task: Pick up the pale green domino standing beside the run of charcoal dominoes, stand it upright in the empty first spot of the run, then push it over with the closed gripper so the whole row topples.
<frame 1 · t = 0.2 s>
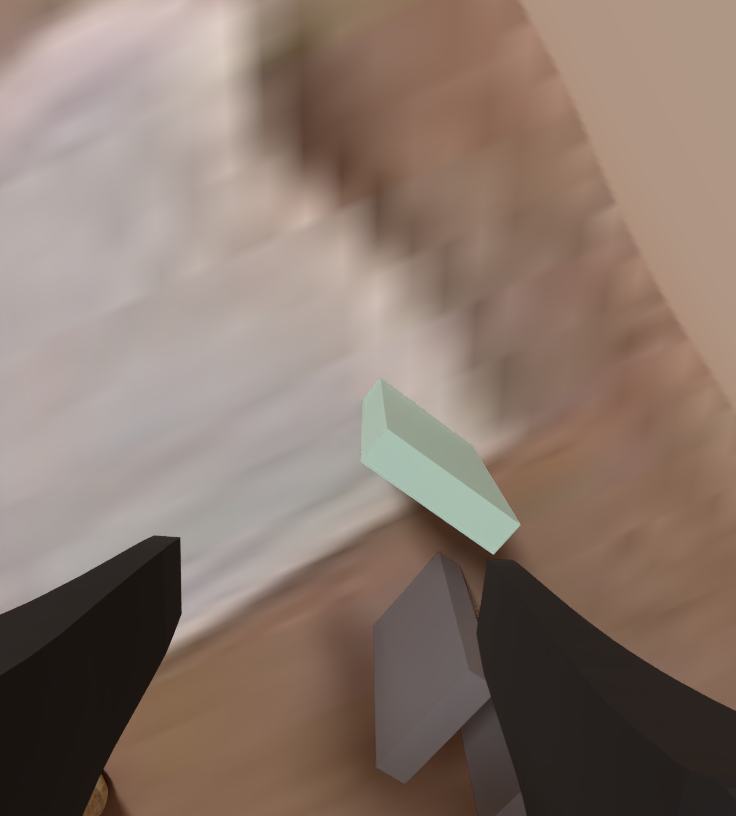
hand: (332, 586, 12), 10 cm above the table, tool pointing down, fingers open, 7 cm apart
sprinkles bottle: (69, 779, 26), on the table
green domino: (417, 422, 21), on the table
domino 2: (415, 596, 23), on the table
domino 3: (491, 646, 24), on the table
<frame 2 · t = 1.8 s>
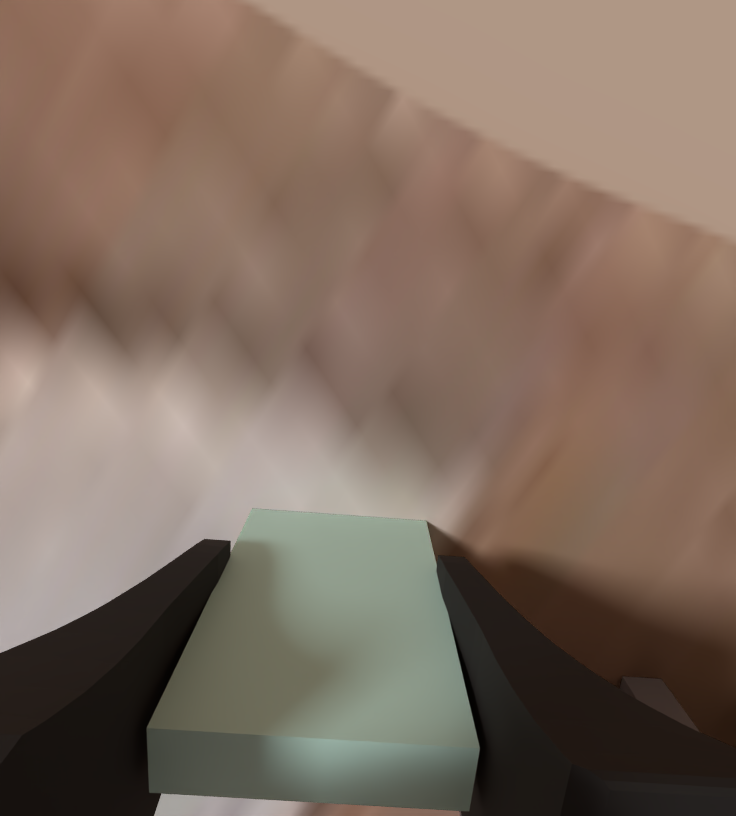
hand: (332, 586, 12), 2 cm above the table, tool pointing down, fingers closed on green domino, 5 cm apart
green domino: (338, 534, 14), on the table, touching gripper
domino 3: (625, 740, 16), on the table
when the fingers open (3 cm above the table, at t = 5.6 s): green domino stays where it is, on the table.
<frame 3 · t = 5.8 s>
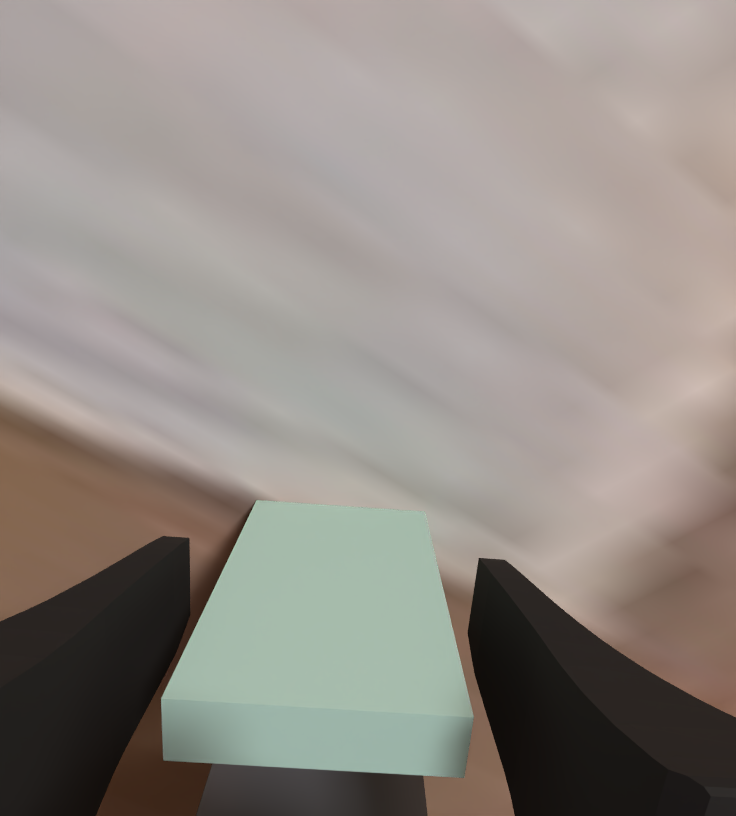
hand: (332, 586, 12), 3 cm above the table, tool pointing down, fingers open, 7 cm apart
green domino: (339, 525, 15), on the table
domino 2: (329, 656, 16), on the table
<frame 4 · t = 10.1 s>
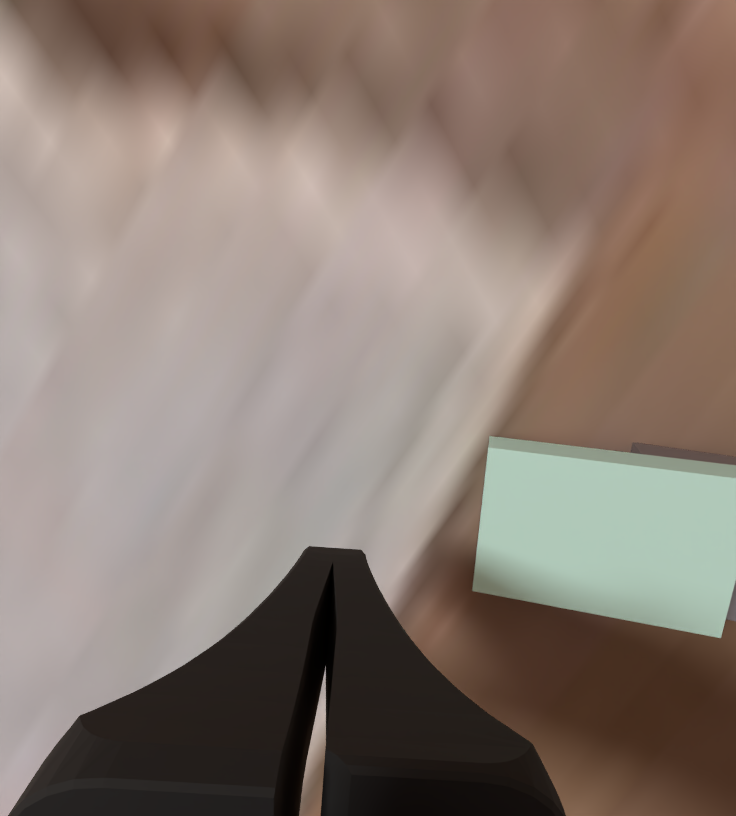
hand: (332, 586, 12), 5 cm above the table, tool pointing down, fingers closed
green domino: (480, 513, 16), point 1 cm above the table, tilted 75°
domino 2: (621, 519, 16), point 1 cm above the table, tilted 75°, touching domino 3
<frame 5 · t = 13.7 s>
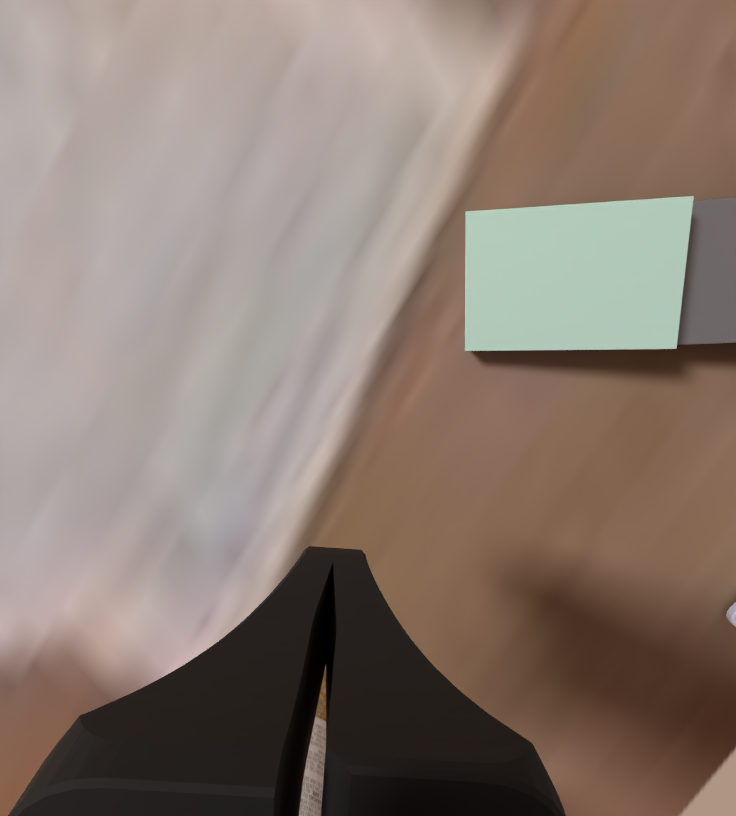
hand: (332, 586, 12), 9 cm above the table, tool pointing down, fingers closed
sprinkles bottle: (305, 686, 24), on the table
green domino: (465, 283, 19), point 1 cm above the table, tilted 77°, touching domino 2
domino 2: (615, 279, 19), point 1 cm above the table, tilted 78°, touching green domino
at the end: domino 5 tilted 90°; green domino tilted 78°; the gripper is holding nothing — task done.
